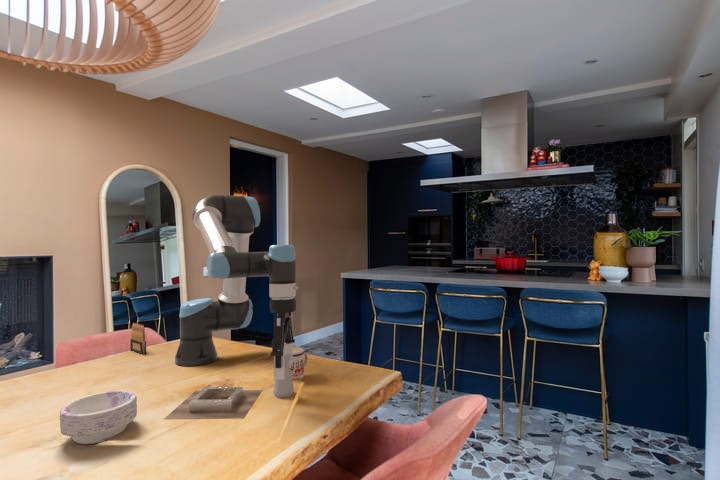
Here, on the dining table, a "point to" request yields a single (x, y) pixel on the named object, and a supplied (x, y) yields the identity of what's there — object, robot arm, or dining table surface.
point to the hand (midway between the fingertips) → (283, 372)
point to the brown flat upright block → (138, 339)
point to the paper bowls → (98, 416)
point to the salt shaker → (284, 386)
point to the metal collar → (203, 404)
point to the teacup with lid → (298, 362)
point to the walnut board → (236, 413)
